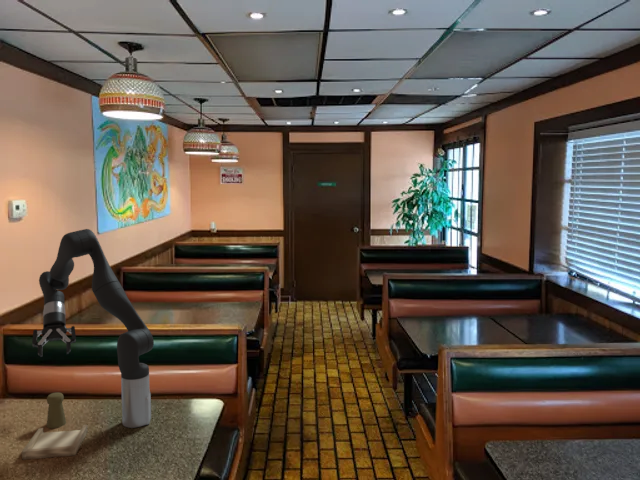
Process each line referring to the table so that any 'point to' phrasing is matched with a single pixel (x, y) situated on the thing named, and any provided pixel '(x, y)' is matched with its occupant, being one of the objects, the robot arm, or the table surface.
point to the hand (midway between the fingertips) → (54, 354)
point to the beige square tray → (54, 443)
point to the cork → (55, 410)
